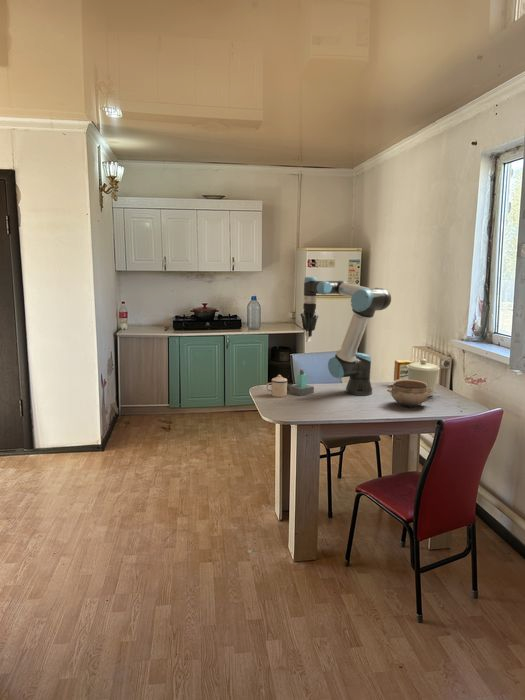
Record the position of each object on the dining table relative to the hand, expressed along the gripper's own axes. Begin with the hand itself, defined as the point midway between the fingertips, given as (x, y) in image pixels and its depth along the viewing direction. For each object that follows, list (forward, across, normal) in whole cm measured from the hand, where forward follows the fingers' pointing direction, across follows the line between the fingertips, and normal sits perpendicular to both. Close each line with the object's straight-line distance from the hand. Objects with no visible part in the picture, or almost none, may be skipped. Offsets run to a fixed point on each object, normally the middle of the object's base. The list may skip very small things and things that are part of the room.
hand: (308, 341), depth 315 cm
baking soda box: (+26, +40, +42) cm, 64 cm away
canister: (+26, +59, +33) cm, 73 cm away
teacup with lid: (+27, +9, -34) cm, 44 cm away
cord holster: (+26, +4, -19) cm, 33 cm away
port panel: (+26, +14, -19) cm, 35 cm away
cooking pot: (+26, +68, +8) cm, 73 cm away
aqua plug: (+26, +14, -19) cm, 35 cm away
